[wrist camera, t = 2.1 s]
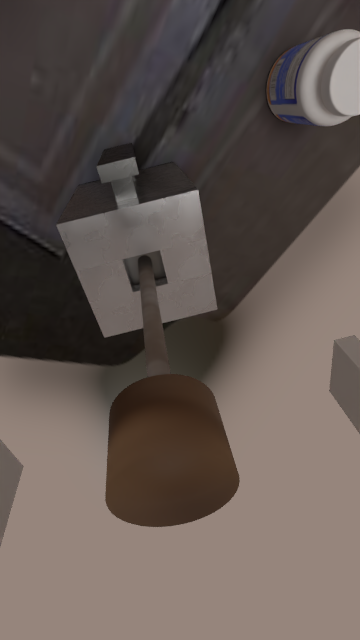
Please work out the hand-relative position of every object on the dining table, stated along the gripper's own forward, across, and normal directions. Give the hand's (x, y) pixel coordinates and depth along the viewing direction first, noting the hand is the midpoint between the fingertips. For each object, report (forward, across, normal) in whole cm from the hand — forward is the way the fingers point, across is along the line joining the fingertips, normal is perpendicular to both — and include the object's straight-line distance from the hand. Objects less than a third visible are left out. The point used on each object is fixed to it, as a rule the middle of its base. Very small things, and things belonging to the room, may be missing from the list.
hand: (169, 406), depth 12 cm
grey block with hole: (+24, 0, +1) cm, 24 cm away
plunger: (+15, 0, 0) cm, 15 cm away
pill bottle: (+24, +16, +8) cm, 30 cm away
